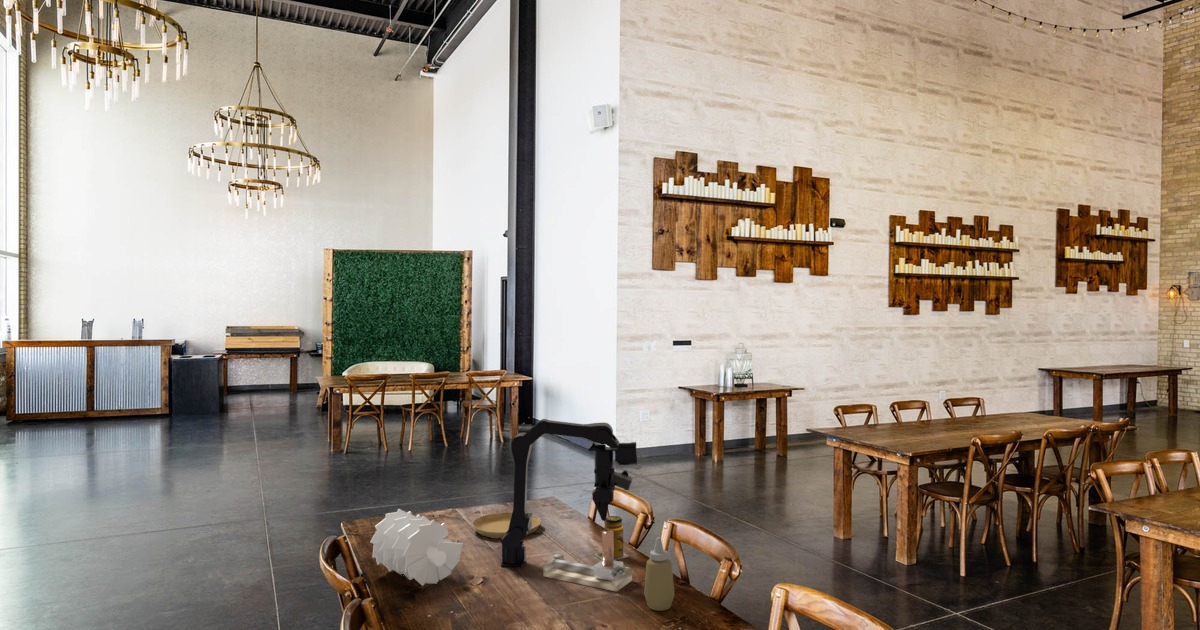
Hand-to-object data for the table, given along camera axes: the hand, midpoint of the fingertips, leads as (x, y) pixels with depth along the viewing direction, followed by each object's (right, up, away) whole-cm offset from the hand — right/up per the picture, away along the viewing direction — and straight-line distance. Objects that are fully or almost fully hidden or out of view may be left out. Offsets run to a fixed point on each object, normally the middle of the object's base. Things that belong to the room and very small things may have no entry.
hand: (604, 516), depth 220 cm
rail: (-5, -15, -11) cm, 19 cm away
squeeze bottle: (+14, -15, -32) cm, 38 cm away
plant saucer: (-34, -15, +35) cm, 51 cm away
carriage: (+1, -13, -15) cm, 20 cm away
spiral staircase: (-56, -16, -8) cm, 58 cm away
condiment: (+2, -15, +7) cm, 17 cm away
